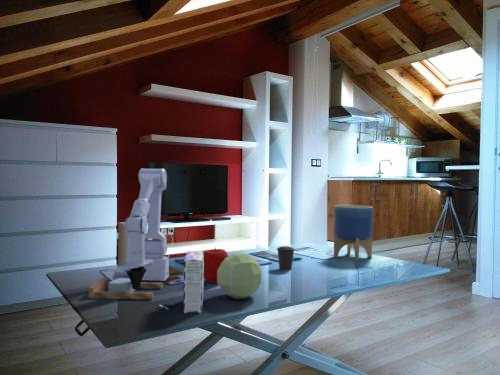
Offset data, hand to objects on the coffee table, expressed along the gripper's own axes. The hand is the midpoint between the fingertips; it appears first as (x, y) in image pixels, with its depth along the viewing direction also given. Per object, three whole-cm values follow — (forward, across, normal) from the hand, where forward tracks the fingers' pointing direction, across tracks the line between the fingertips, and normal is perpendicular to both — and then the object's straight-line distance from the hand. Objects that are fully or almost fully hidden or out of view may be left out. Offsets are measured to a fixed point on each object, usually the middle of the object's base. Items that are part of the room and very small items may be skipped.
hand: (136, 289), depth 140 cm
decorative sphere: (+2, -18, +32) cm, 37 cm away
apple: (+2, -28, +13) cm, 31 cm away
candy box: (+2, -2, +26) cm, 26 cm away
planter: (+2, -106, +41) cm, 113 cm away
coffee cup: (+2, -63, +25) cm, 68 cm away
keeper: (+2, +2, -5) cm, 6 cm away
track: (+1, +1, -2) cm, 3 cm away
